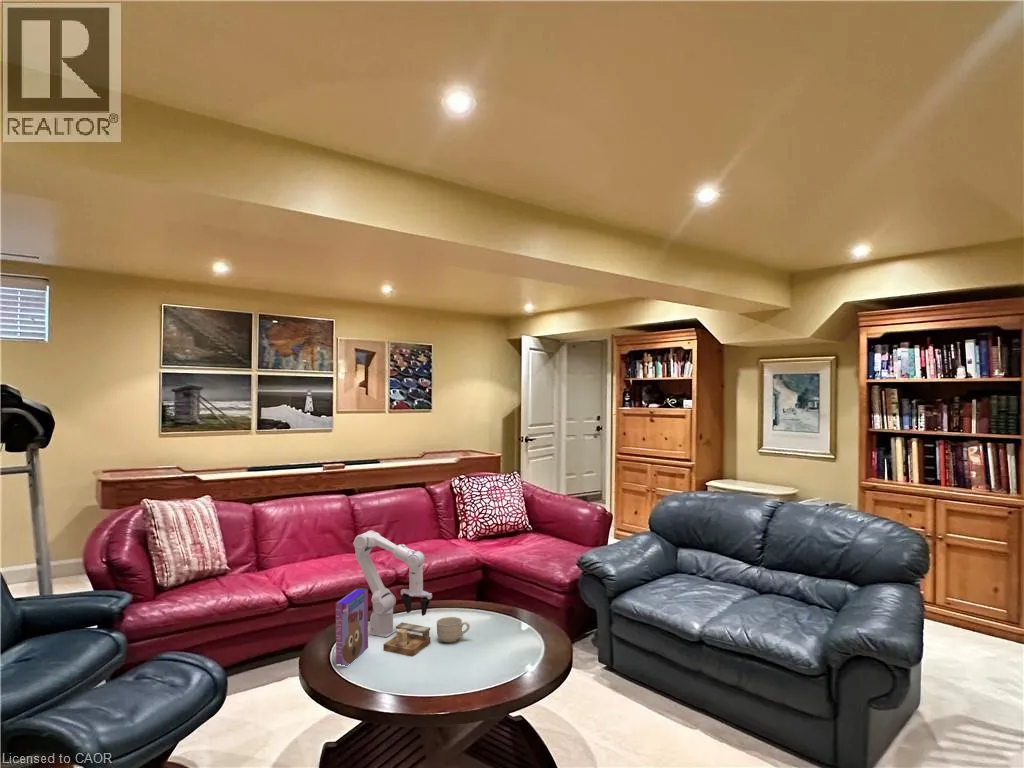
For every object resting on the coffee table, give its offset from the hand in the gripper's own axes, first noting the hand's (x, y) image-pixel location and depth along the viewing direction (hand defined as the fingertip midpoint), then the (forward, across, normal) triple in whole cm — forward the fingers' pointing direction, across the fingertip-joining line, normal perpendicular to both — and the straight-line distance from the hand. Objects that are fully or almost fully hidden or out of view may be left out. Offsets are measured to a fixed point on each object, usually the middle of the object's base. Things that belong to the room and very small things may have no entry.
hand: (416, 613), depth 244 cm
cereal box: (+10, -13, -25) cm, 30 cm away
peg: (+10, +2, -13) cm, 17 cm away
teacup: (+10, +16, +4) cm, 19 cm away
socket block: (+10, +2, -10) cm, 14 cm away
